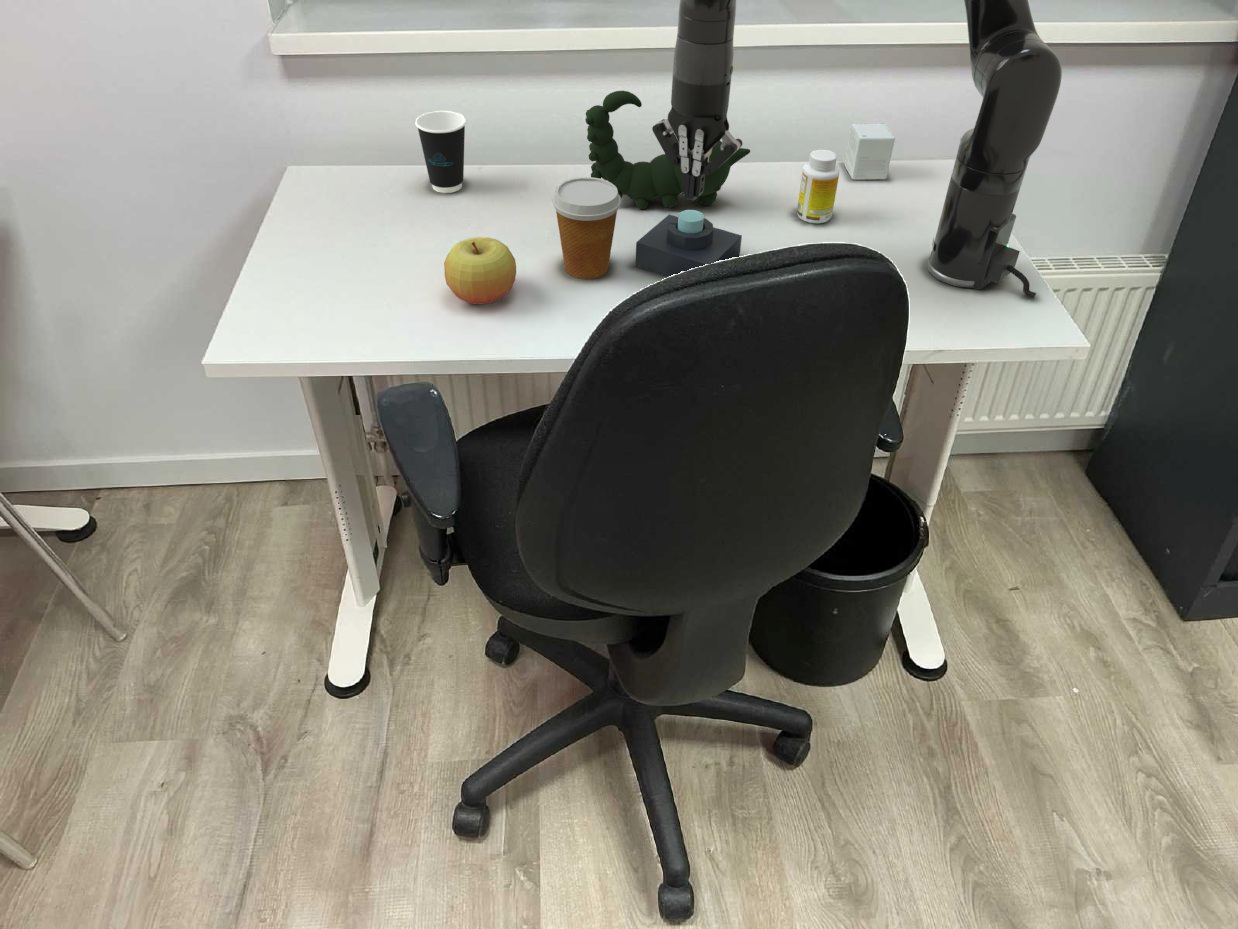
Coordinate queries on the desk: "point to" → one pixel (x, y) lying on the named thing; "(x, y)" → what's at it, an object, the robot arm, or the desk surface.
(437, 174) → the dixie cup
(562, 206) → the disposable coffee cup
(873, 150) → the product box
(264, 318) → the desk surface
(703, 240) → the button housing
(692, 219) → the teal button cap
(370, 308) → the desk surface
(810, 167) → the supplement bottle
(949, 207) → the robot arm
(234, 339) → the desk surface
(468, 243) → the apple
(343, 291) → the desk surface
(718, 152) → the toy figurine
